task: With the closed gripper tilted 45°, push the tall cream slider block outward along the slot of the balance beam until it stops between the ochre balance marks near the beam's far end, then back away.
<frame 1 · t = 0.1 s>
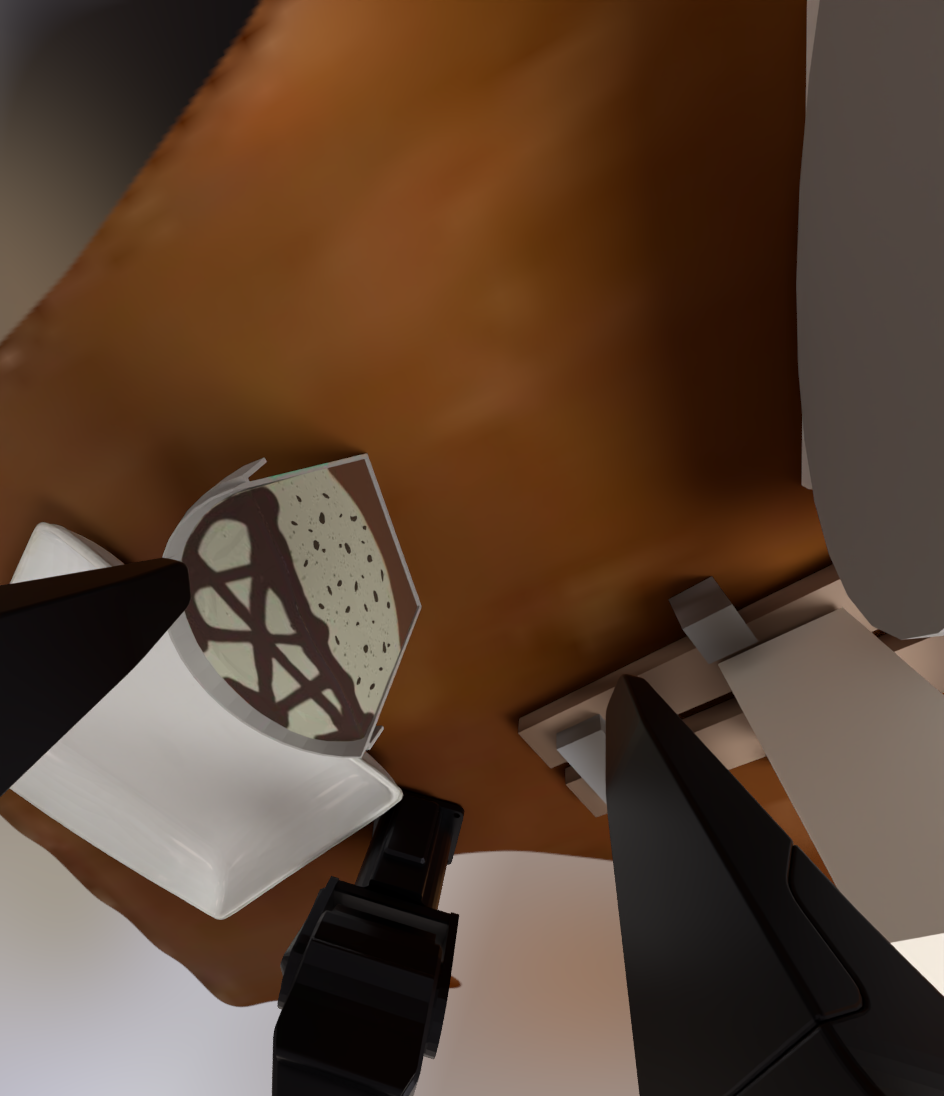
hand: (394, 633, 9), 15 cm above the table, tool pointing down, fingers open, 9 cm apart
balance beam: (753, 676, 24), on the table
food container: (349, 543, 26), on the table
alarm clock: (873, 262, 17), on the table
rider: (879, 773, 17), point 7 cm above the table, slide at 2.0 cm
square plate: (187, 729, 35), on the table
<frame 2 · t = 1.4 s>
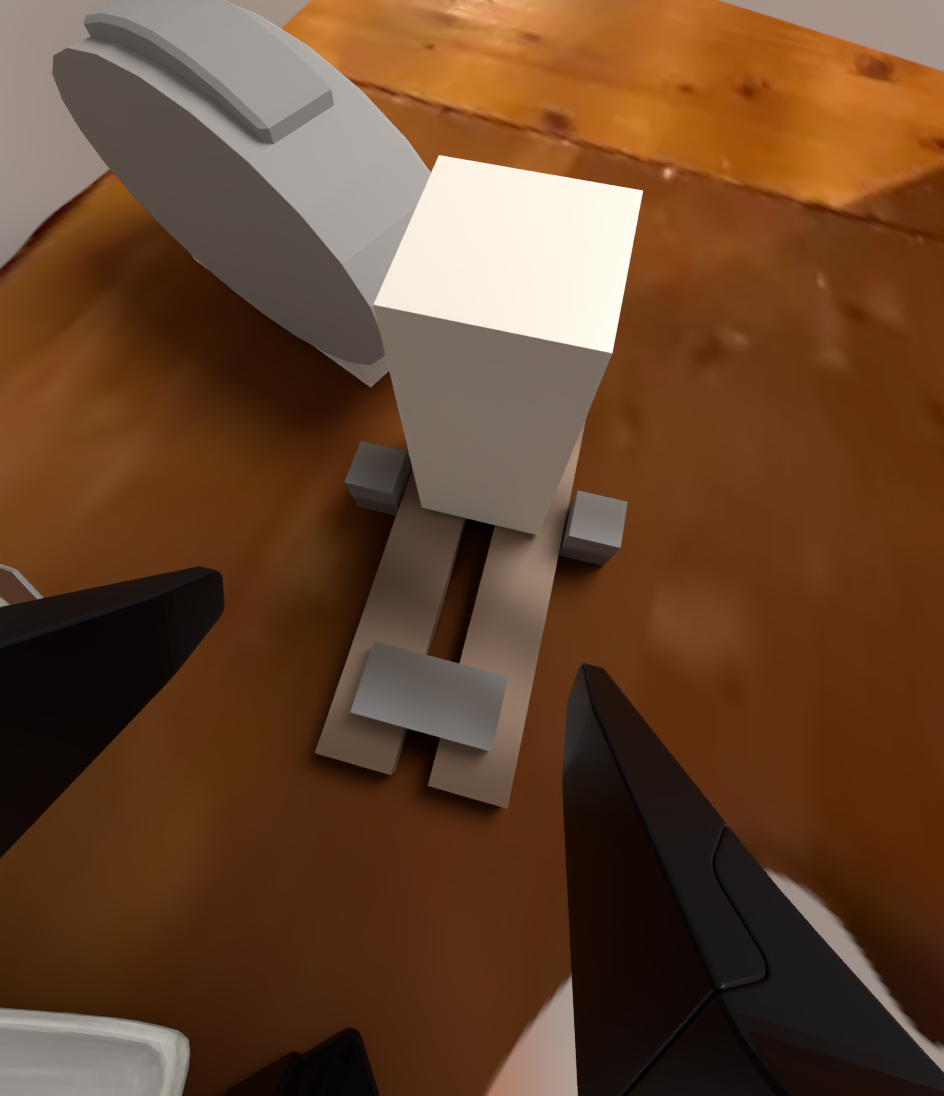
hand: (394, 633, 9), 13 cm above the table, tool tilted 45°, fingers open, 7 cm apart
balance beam: (483, 515, 24), on the table
food container: (18, 677, 21), on the table
alarm clock: (306, 301, 29), on the table
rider: (500, 401, 18), point 7 cm above the table, slide at 2.0 cm
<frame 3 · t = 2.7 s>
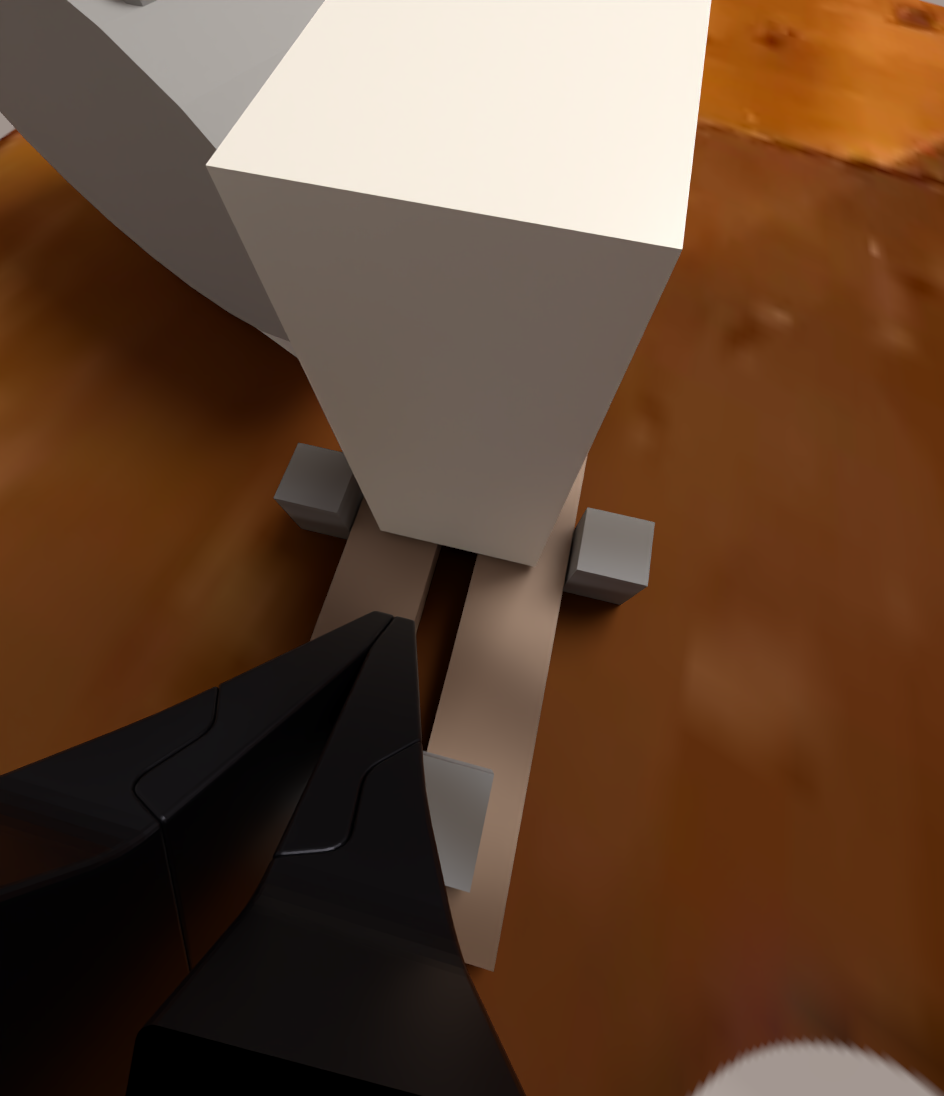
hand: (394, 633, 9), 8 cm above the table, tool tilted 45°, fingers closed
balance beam: (463, 539, 18), on the table
alarm clock: (249, 273, 24), on the table
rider: (479, 383, 12), point 7 cm above the table, slide at 2.0 cm
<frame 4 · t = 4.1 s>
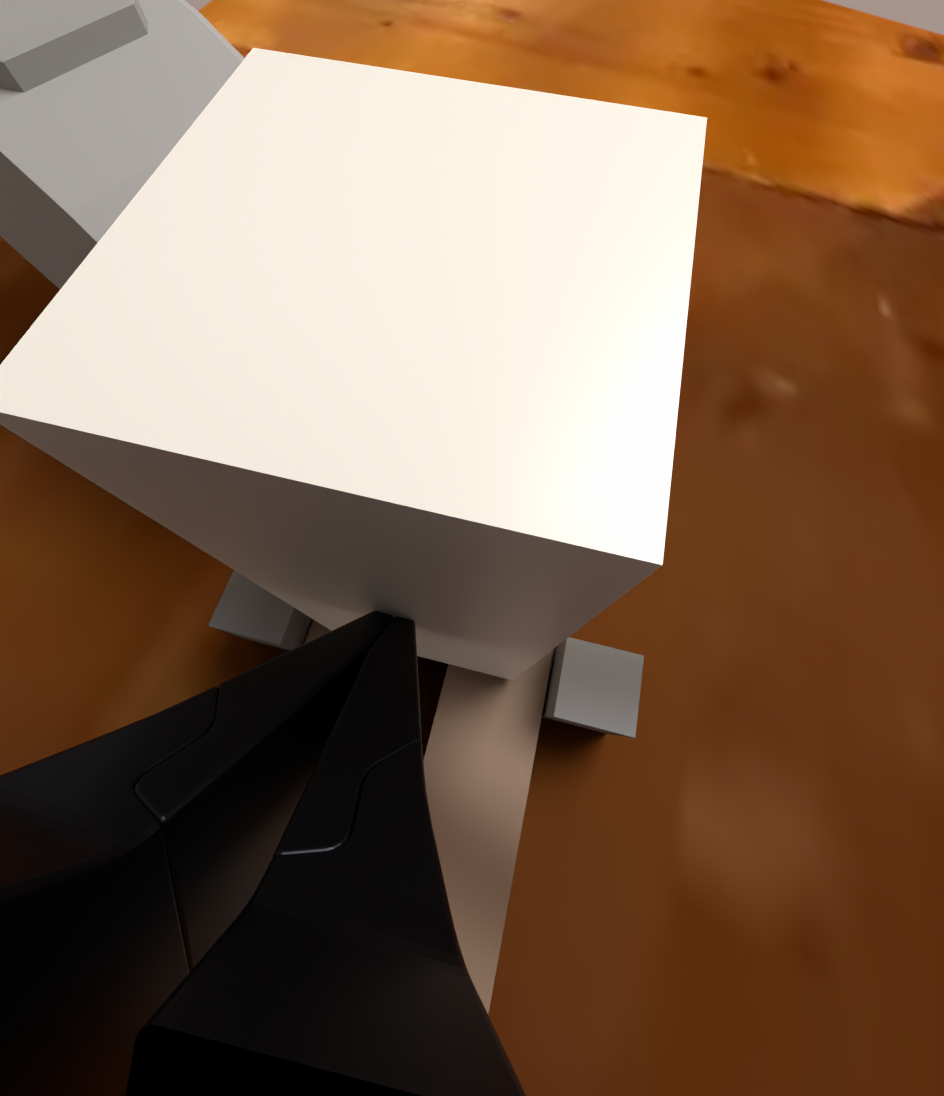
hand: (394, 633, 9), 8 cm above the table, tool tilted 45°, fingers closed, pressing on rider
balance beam: (431, 652, 16), on the table
alarm clock: (206, 335, 22), on the table
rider: (438, 507, 11), point 7 cm above the table, slide at 2.6 cm, touching gripper
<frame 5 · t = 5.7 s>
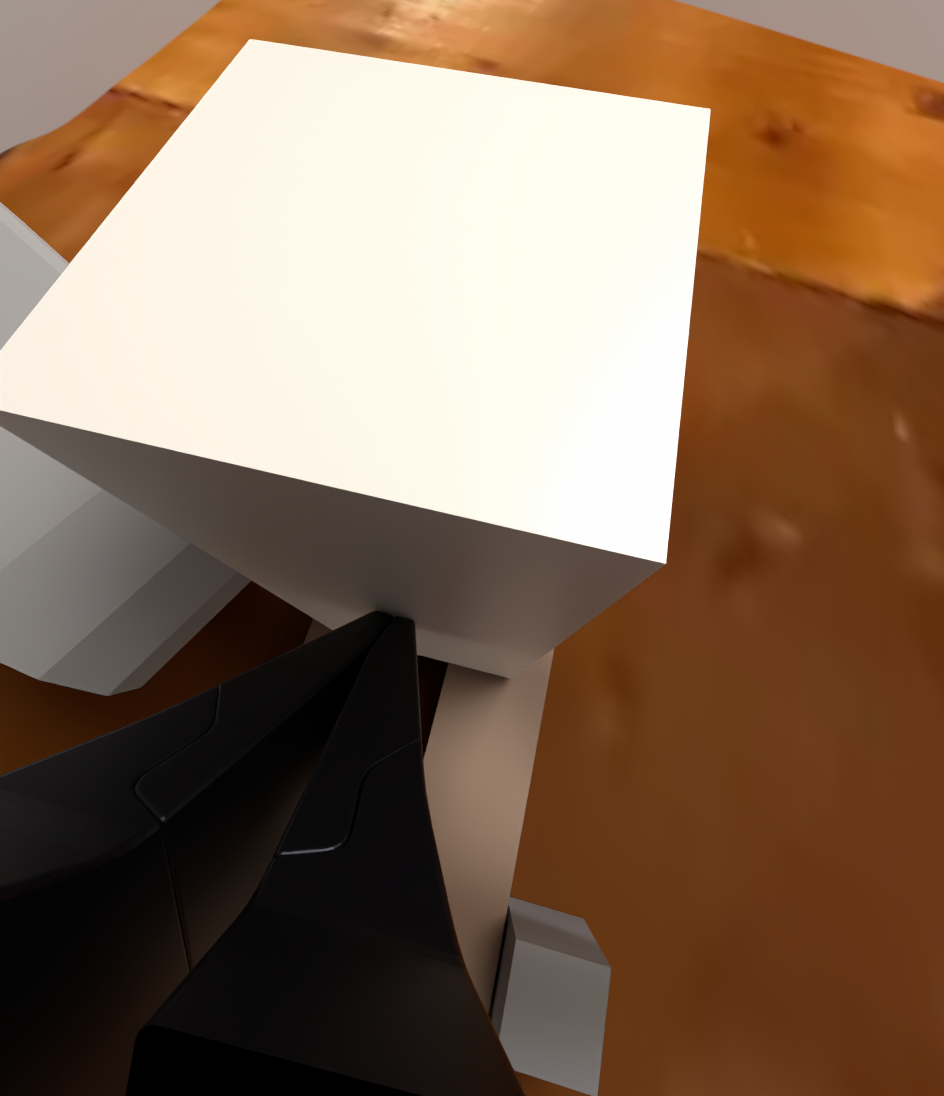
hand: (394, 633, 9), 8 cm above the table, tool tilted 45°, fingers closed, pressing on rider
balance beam: (362, 901, 14), on the table
alarm clock: (124, 466, 19), on the table
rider: (438, 505, 11), point 7 cm above the table, slide at 10.4 cm, touching gripper
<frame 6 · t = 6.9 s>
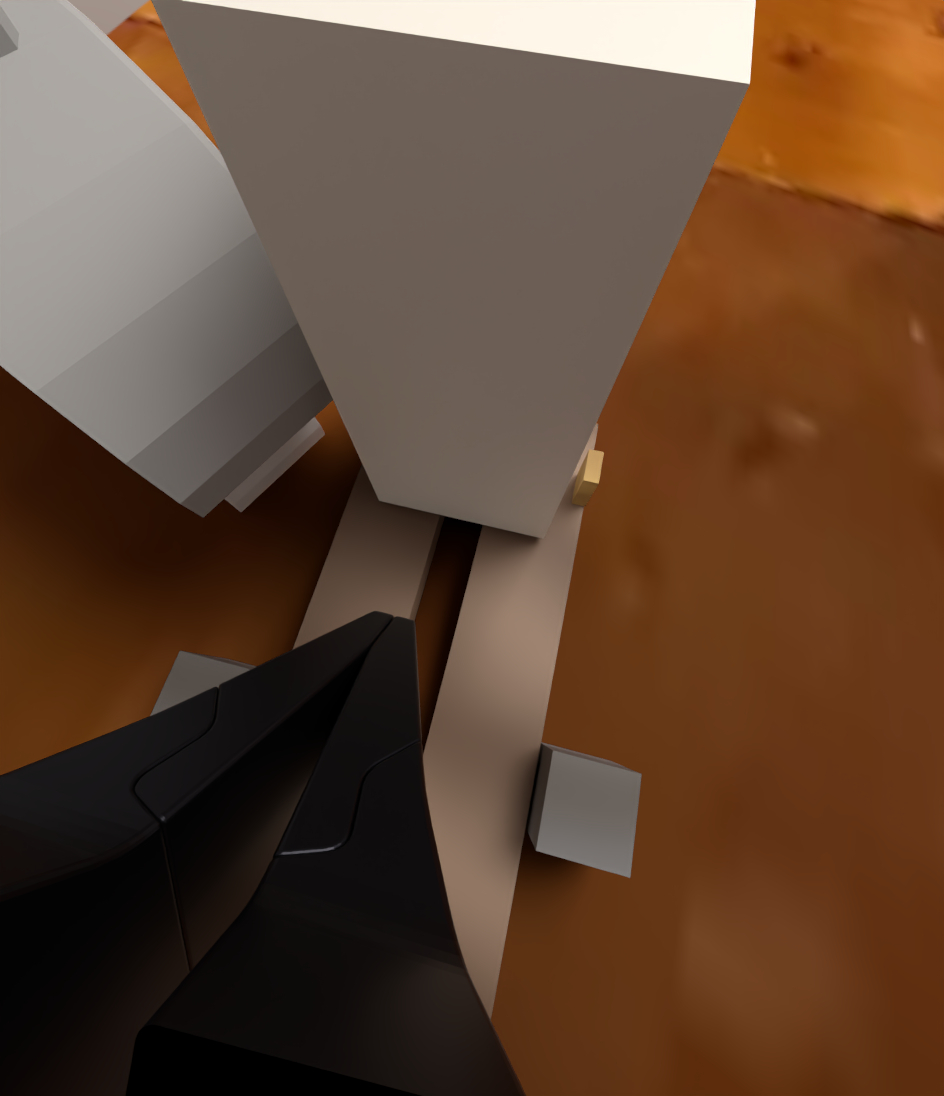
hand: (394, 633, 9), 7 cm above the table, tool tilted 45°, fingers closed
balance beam: (403, 745, 15), on the table
alarm clock: (161, 369, 20), on the table
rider: (484, 331, 11), point 7 cm above the table, slide at 10.7 cm
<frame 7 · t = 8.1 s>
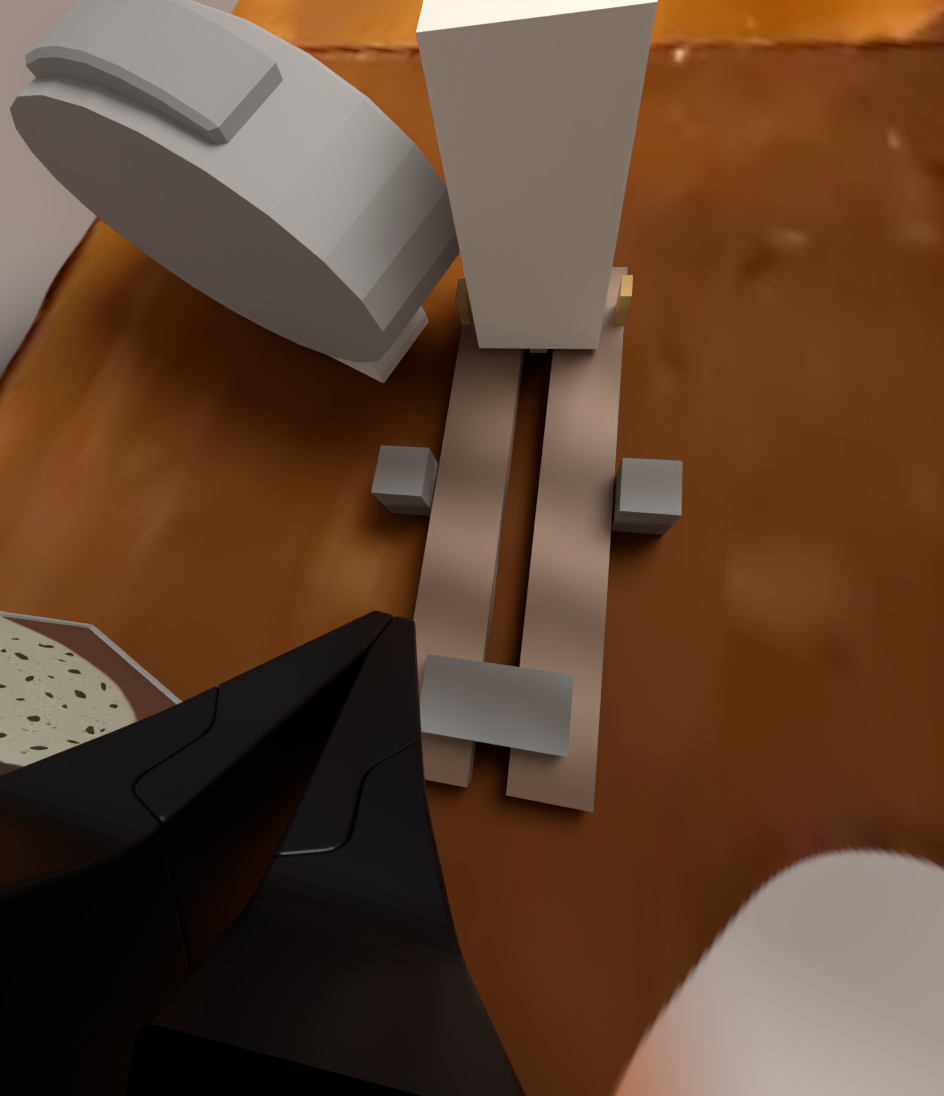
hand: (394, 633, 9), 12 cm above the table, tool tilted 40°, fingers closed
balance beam: (522, 500, 22), on the table
food container: (112, 724, 23), on the table
alarm clock: (305, 304, 28), on the table
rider: (542, 191, 18), point 7 cm above the table, slide at 10.7 cm
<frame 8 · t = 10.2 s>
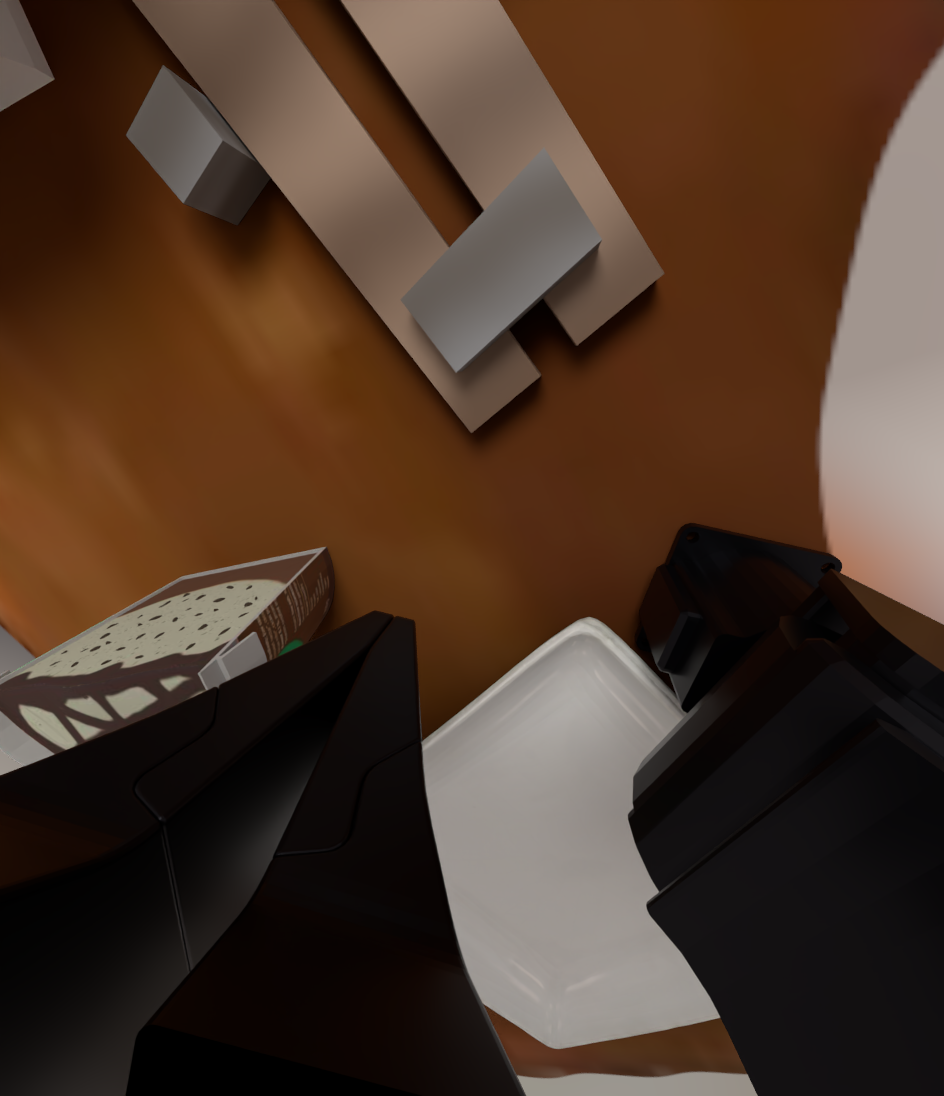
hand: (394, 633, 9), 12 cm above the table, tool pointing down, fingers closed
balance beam: (325, 27, 14), on the table
food container: (276, 609, 25), on the table
square plate: (564, 836, 29), on the table
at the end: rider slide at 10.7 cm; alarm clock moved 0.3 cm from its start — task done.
